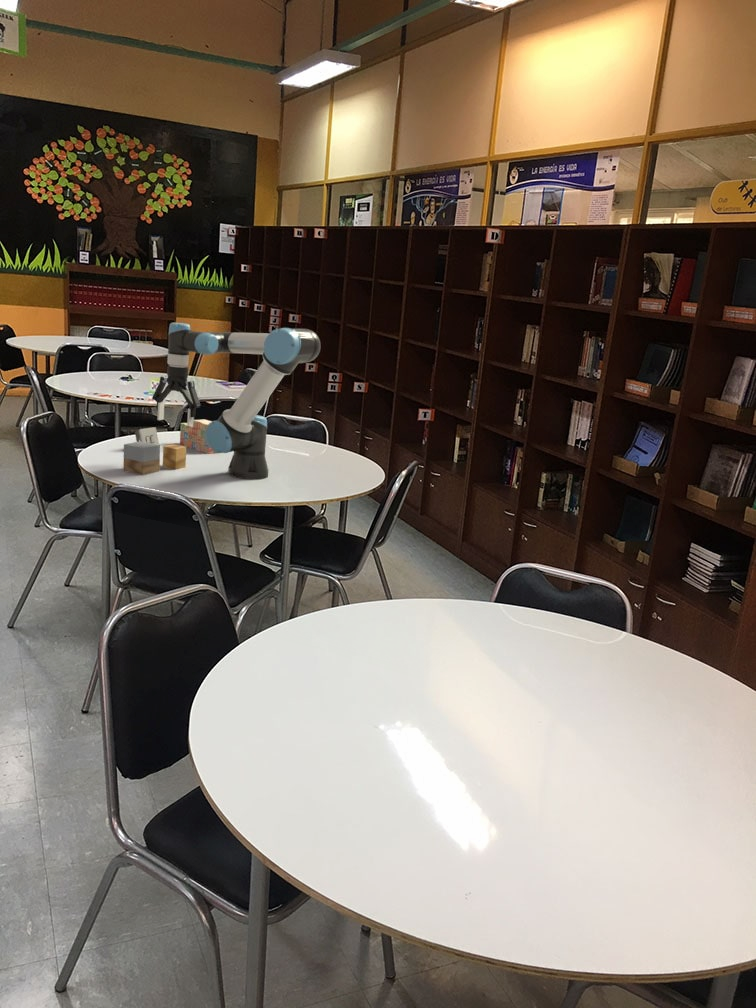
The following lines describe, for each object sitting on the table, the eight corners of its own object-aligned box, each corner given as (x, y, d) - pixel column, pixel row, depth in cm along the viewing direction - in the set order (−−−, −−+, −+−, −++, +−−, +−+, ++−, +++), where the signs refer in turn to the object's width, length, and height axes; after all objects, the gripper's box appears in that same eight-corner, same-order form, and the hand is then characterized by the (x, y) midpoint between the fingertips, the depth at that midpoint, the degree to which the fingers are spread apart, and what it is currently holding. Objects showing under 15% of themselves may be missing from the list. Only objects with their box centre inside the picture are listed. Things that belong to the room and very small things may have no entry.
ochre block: (185, 467, 315) (186, 446, 313) (175, 469, 310) (176, 449, 308) (172, 464, 317) (173, 444, 315) (162, 467, 312) (163, 446, 310)
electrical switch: (143, 452, 333) (142, 429, 331) (134, 451, 335) (133, 428, 333) (160, 450, 341) (159, 427, 339) (150, 449, 343) (149, 426, 341)
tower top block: (159, 458, 304) (160, 445, 302) (143, 462, 296) (143, 448, 294) (140, 454, 307) (140, 441, 306) (123, 457, 299) (123, 444, 298)
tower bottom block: (159, 471, 305) (159, 458, 304) (143, 475, 297) (143, 462, 296) (139, 467, 308) (140, 454, 307) (123, 471, 300) (123, 457, 299)
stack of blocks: (179, 444, 356) (180, 416, 353) (191, 443, 360) (192, 415, 357) (208, 454, 342) (209, 425, 339) (220, 453, 346) (222, 424, 343)
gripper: (212, 370, 303) (208, 427, 308) (157, 360, 312) (154, 416, 317) (199, 371, 296) (196, 429, 301) (144, 361, 305) (141, 418, 311)
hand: (175, 422), depth 309 cm, fingers open, 13 cm apart
